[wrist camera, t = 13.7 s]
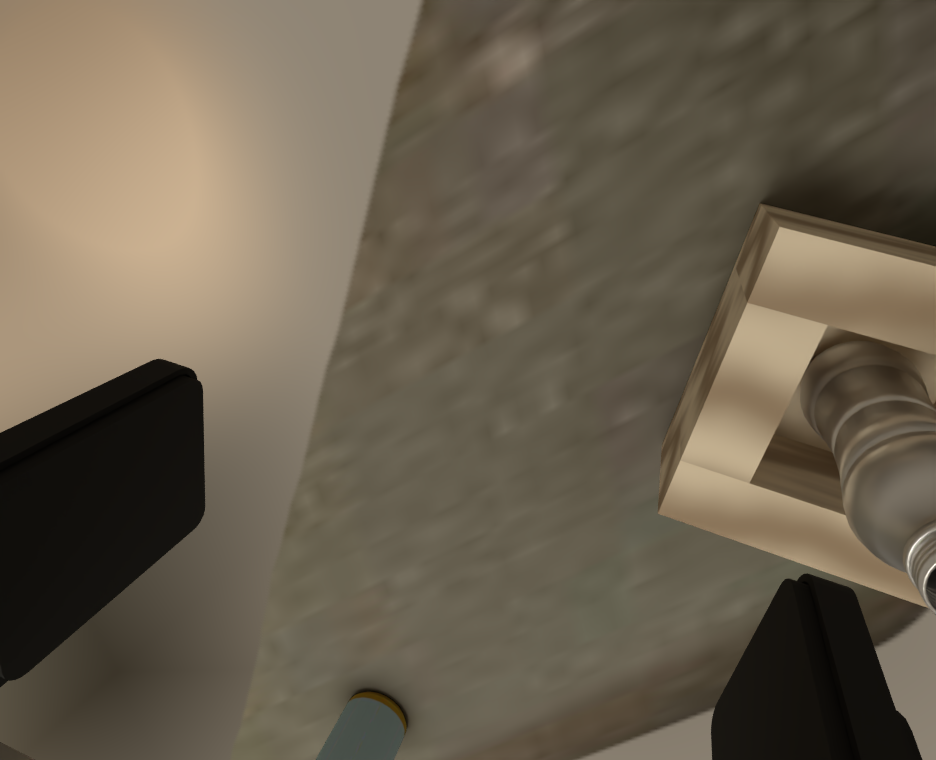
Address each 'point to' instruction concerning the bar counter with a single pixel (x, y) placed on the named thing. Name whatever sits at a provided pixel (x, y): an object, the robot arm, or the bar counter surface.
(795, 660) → the robot arm
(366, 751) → the bottle
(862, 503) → the plastic bottle
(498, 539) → the bar counter surface
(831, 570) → the well block
